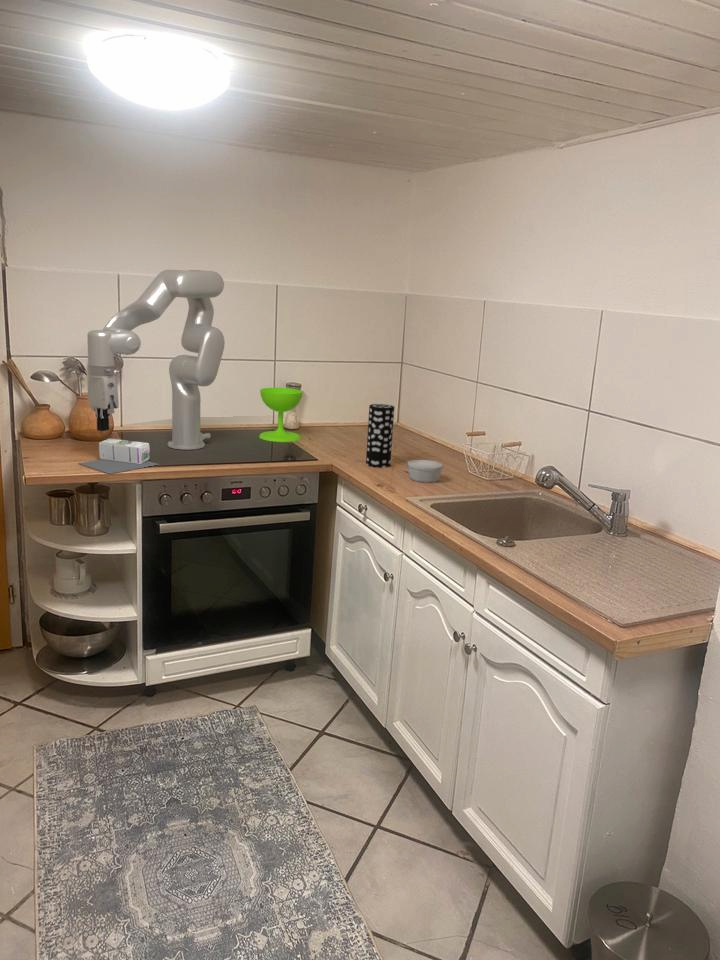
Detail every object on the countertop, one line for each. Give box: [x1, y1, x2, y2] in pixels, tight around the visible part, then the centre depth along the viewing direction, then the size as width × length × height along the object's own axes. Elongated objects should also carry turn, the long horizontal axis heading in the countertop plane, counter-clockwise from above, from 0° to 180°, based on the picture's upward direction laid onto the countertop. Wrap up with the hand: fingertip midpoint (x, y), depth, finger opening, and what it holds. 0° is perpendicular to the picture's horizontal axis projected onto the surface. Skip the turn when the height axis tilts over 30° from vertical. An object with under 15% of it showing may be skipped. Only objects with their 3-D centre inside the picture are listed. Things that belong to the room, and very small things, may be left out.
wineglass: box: [258, 387, 303, 443], centre depth 284 cm, size 16×16×18 cm
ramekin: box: [407, 459, 443, 484], centre depth 236 cm, size 11×11×5 cm
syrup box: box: [98, 437, 151, 464], centre depth 235 cm, size 6×6×14 cm
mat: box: [78, 459, 160, 475], centre depth 232 cm, size 18×16×1 cm
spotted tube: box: [365, 403, 395, 469], centre depth 250 cm, size 8×8×20 cm
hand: (103, 430), depth 234 cm, fingers closed
